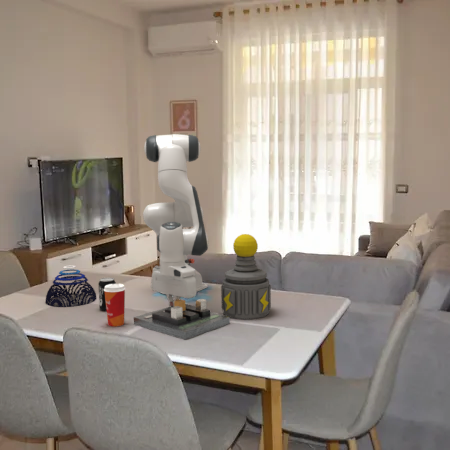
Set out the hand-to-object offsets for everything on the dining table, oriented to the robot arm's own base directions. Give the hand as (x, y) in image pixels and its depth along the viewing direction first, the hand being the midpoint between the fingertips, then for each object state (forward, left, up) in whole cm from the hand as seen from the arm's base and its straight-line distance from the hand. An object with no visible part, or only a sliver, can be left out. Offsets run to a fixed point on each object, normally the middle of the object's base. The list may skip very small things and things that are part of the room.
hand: (173, 306), depth 200 cm
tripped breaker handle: (0, +3, -1) cm, 3 cm away
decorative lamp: (-25, +13, -6) cm, 29 cm away
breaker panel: (0, +4, -6) cm, 7 cm away
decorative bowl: (+6, -55, -6) cm, 56 cm away
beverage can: (+5, -32, -6) cm, 33 cm away
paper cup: (+15, -14, -6) cm, 21 cm away
